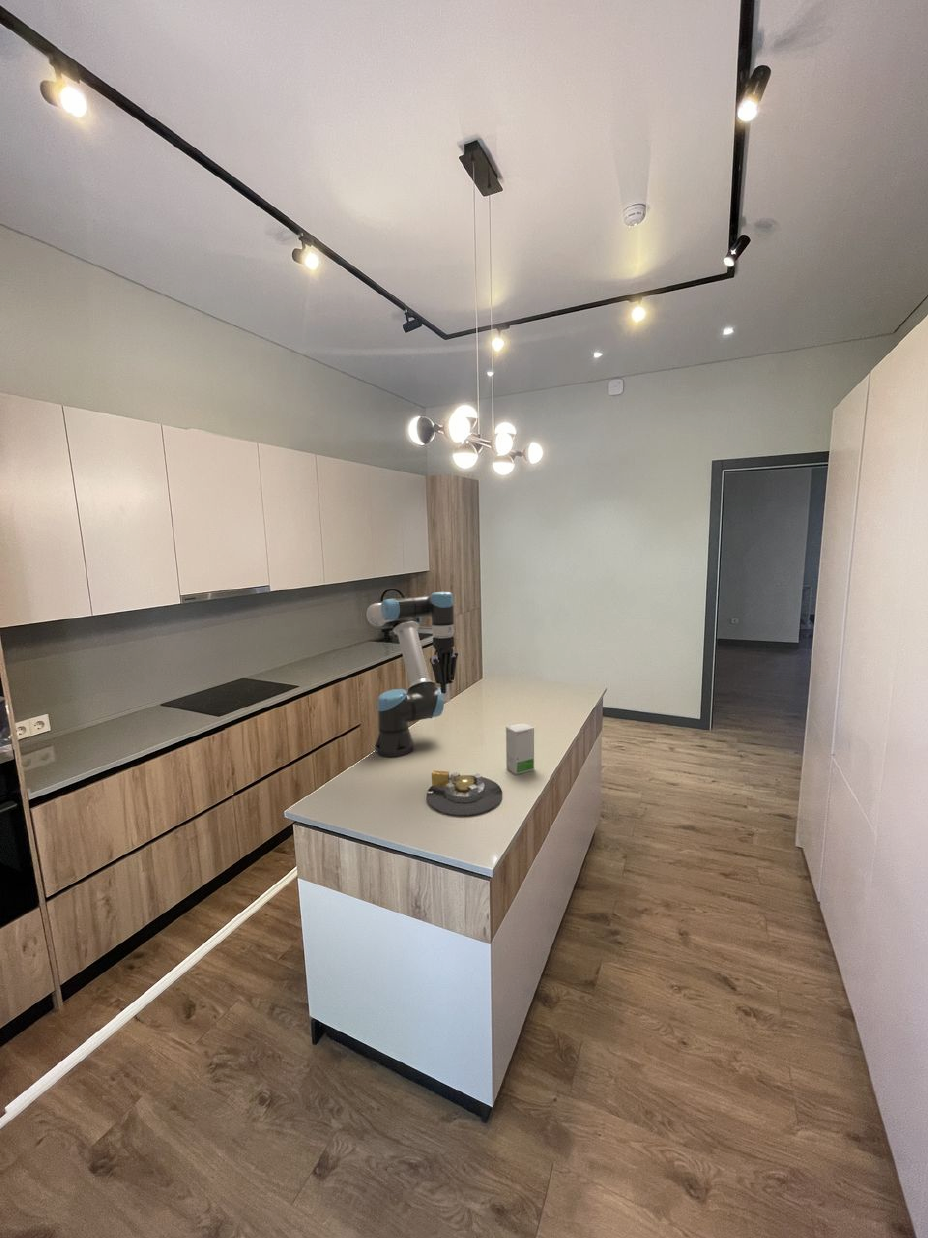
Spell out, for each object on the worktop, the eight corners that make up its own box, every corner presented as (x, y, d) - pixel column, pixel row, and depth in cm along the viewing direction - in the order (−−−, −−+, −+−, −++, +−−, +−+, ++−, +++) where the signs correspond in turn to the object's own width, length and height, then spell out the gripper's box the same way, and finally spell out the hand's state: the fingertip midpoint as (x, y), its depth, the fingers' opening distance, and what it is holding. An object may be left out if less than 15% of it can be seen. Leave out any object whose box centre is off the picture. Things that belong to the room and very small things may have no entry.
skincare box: (515, 775, 166) (514, 732, 164) (505, 768, 172) (504, 726, 169) (535, 769, 170) (534, 727, 167) (524, 762, 176) (524, 721, 173)
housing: (416, 812, 145) (415, 795, 144) (439, 775, 168) (438, 760, 167) (494, 820, 139) (494, 802, 138) (507, 781, 162) (507, 765, 161)
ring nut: (487, 784, 158) (486, 766, 157) (480, 804, 146) (480, 785, 145) (438, 780, 161) (437, 763, 160) (427, 799, 149) (427, 781, 148)
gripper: (439, 640, 161) (441, 708, 164) (463, 634, 171) (465, 698, 174) (422, 638, 165) (425, 704, 169) (447, 632, 175) (449, 694, 179)
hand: (446, 701), depth 172 cm, fingers closed
